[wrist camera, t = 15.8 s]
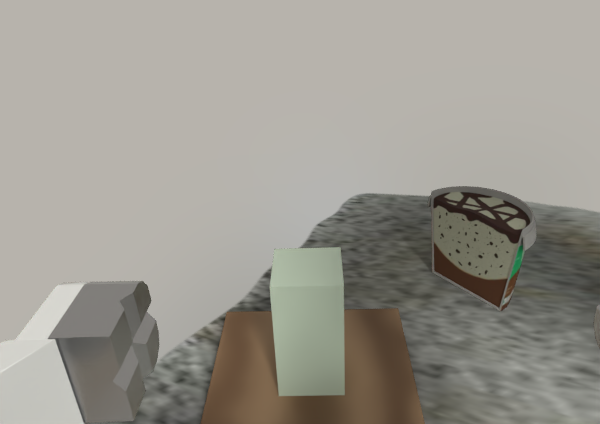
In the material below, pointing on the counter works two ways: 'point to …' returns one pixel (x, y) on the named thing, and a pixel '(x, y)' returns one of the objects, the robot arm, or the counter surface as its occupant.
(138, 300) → the robot arm
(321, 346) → the sage block
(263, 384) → the walnut base
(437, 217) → the food container
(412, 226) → the counter surface
